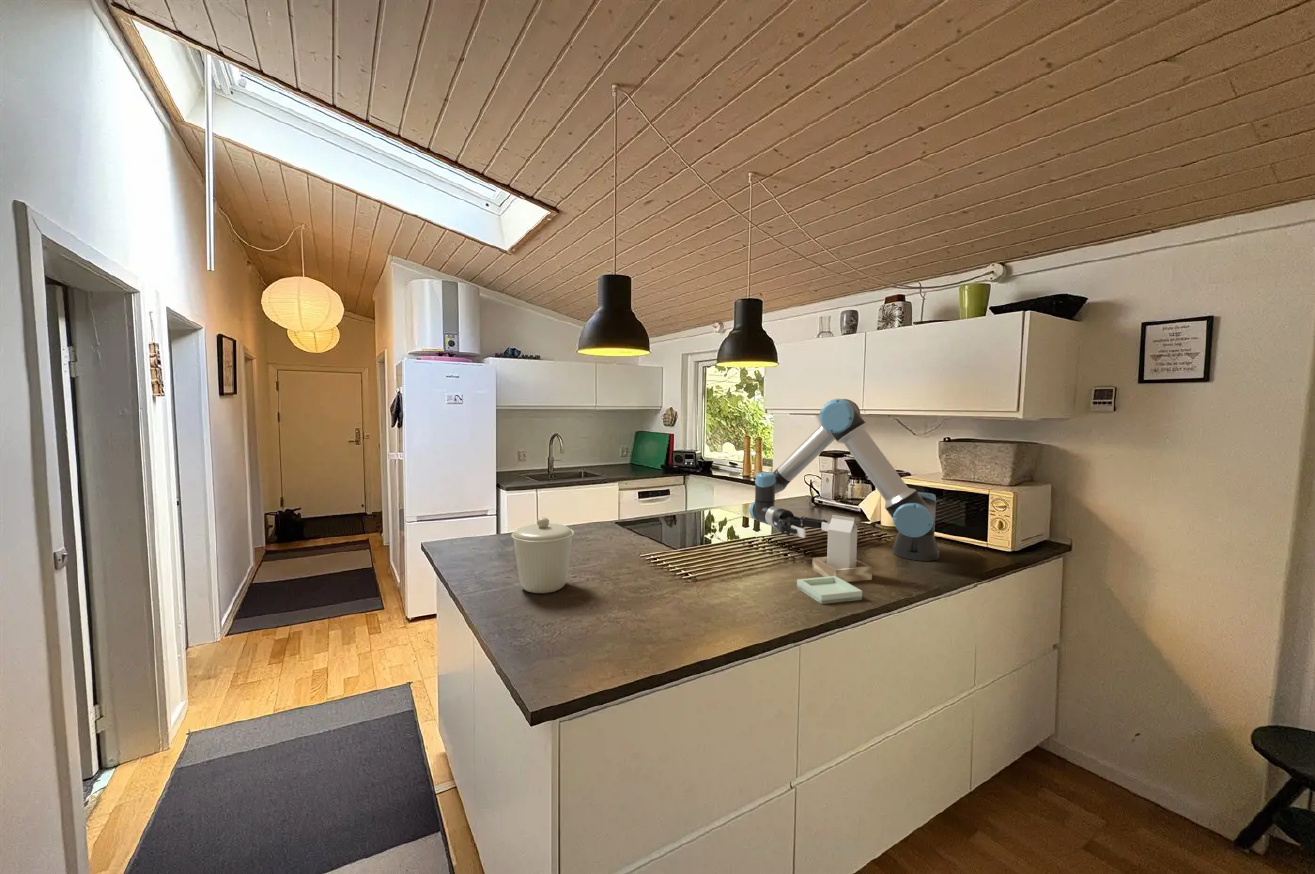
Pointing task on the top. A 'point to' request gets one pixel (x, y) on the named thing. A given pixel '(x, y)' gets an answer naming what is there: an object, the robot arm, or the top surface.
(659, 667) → the top surface
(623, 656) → the top surface
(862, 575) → the holder
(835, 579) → the tray
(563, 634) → the top surface
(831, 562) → the milk carton
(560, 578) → the canister
